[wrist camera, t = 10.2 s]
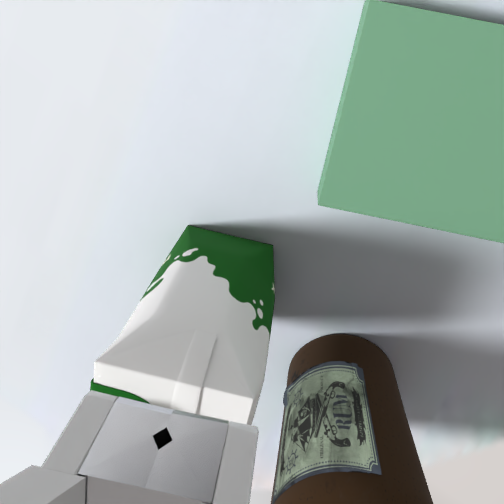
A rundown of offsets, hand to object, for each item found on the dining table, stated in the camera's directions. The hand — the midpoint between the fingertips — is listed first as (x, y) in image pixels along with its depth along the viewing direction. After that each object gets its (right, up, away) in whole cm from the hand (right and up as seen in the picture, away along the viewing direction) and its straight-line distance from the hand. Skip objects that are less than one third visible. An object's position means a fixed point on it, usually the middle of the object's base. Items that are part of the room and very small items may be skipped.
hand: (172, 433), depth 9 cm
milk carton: (-1, +2, +32) cm, 32 cm away
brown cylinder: (+9, -8, +35) cm, 37 cm away
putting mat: (+18, +11, +25) cm, 33 cm away
